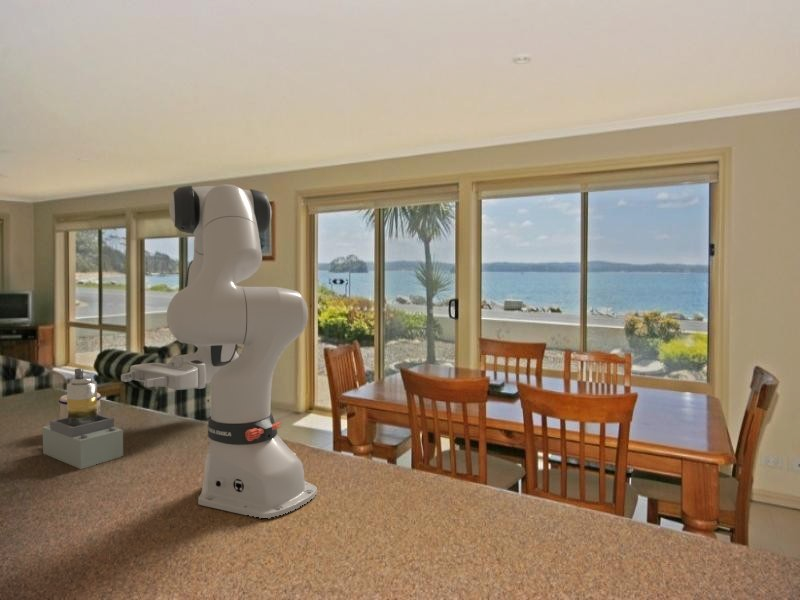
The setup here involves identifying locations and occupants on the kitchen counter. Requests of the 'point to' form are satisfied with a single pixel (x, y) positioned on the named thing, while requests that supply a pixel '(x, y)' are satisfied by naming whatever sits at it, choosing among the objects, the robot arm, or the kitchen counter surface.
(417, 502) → the kitchen counter surface
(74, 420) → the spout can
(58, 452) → the block
